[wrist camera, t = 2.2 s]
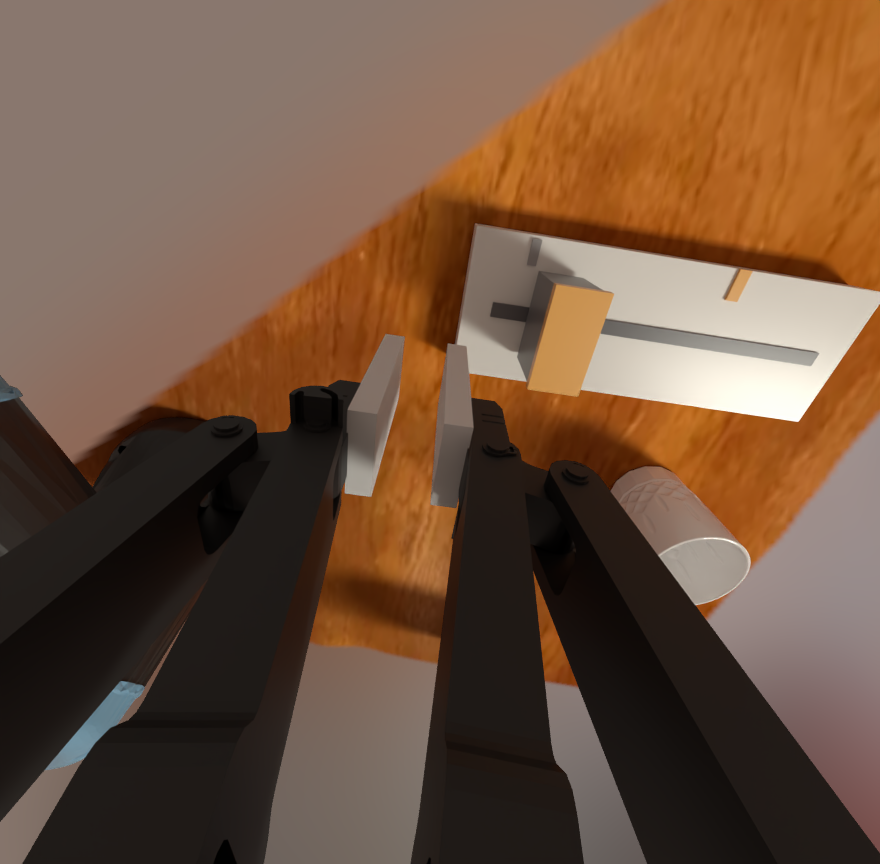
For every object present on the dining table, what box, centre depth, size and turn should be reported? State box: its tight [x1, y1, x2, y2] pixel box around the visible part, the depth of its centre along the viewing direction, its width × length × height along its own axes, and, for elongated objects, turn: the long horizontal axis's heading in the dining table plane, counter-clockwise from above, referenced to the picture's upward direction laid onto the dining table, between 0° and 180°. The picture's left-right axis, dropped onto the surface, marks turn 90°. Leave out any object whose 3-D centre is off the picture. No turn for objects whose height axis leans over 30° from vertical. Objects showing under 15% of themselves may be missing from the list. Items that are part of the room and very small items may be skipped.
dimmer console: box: [455, 223, 880, 422], centre depth 30 cm, size 28×10×3 cm, turn 82°
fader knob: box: [517, 271, 614, 397], centre depth 25 cm, size 3×6×6 cm, turn 172°
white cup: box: [611, 466, 750, 605], centre depth 35 cm, size 8×8×10 cm
